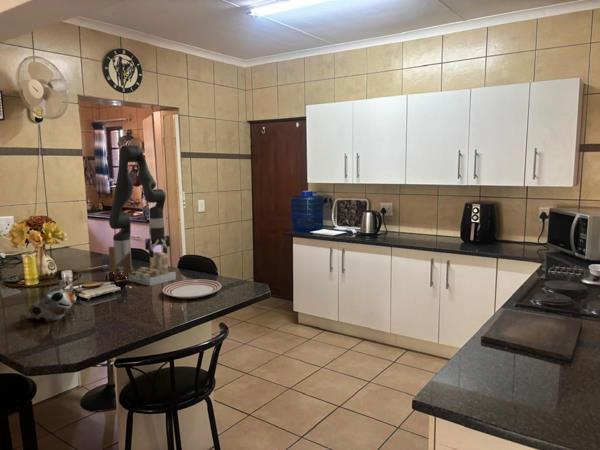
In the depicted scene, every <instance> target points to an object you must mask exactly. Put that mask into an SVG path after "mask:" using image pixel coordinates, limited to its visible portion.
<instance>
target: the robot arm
mask: <svg viewBox="0 0 600 450" xmlns="http://www.w3.org/2000/svg"><path fill="white" fill-rule="evenodd" d="M129 163H136V164H137V165H138V172H137V178H138V181H139V183H140V185H141V186H142V190H143V193H144V199H145V201H146V202H147V203H149V204H150V203H151V204H153V203H154V204H155V203H156V204H155V205H154V206H152V207H150V208H149V210H148V211H149V215H148V216H149V220H148V221H149V222H148V223H149V236H150V238H145V240H144V242H145V246H144V247H145V250H146V251H148V253H149V254H148V255H149V258H150V257H151V258H153V257H154V253H153V251H154V249H155V247H156V246H162V253H165V254H167V255H168V247H170V246H171V240H170V235H165V234H166V233H165V220H164V207H165V202H166V197H167V195H166V192H165V191H164V189H161V188H159V189H157V188H156V186H157V182H156V181H155V179H154V177H153V176H152V173H151V171H150V170H149V167H148V164H147V160H146V158H145V155H144V152H143V150H142V149H141V147H140V146H138V145H132V144H131V145H128V144H127V145H126V144H125V145H121V147H120V149H119V157H118V169H117V171H118V172H117V176H116V177H117V178H116V182H115V189H114V196H113V200H112V201H113V202H112V206H111V210H110V212H109V213H110V214H109V218H108V223H109V224H108V225H109V227H110V228H111V229H113V230H119V229H120V230H119V231H118V233H116V234H114V235H113V237H112V238H113V239H112V240H113V247H116V260H117V264H118V263H119V262H120V261H121V260H122V259H123V258H124V256H125V255H126V254H127V253H128V252H130V256H131V257H132V253H131V252H132V250H131V249H132V248H131V231H132V229H131V227H132V226H131V216H130V214H129V213H128V212H121V211H122V209H123V207H124V206H125V204H126V203H127V202H128V201H129V200H130V198H131V197H132V195H133V189H134V181H133V180H132V179H133V178H132V177H131V176H130V173H129V170H128V169H129V167H128V166H129ZM155 188H156V189H155ZM131 268H132V264H131ZM117 270H123V266H122V267H117Z"/></svg>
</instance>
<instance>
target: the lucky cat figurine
mask: <svg viewBox="0 0 600 450" xmlns="http://www.w3.org/2000/svg"><path fill="white" fill-rule="evenodd" d="M76 300H77V295H75V292H71V293H69V292H67V291H66V290H59V289H58V290H53V291H50V292H48V293H46V294H45V296H44V297H43V298H42V299H41V300H38V301H35V302H34V303H32V304H31V305H30V306H29V308H28V312H29V314H30V315H31V316H32V317H33V318H34V319H36V320H38V321H43V322H44V323H49V321H50V322H55V321H58V320H59V321H60V320H61V319H62V318H63V317H64V316H65V314H66V313H67V311H69V309H70V308H71V306H73V304H74V303H75V302H76ZM54 320H55V321H54Z"/></svg>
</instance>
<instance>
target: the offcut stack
mask: <svg viewBox="0 0 600 450" xmlns="http://www.w3.org/2000/svg"><path fill="white" fill-rule="evenodd" d="M136 271H137V272H136ZM136 271H135V272H136V273H135V276H138V277H142V278H147V279H148V278H150V277H154V276H158V275H160V271H159V270H157V269H152V268H150V267H146V266H140V267H139V268H137V269H136Z"/></svg>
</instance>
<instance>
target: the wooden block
mask: <svg viewBox="0 0 600 450" xmlns="http://www.w3.org/2000/svg"><path fill="white" fill-rule="evenodd" d="M108 259H109V260H108V261H109V273H110V272H114V273H122V274H124V275H125V276H126V277H127V280H129V276H128V273H132V267H131V265H132V255H131V256H130V252H128V253H127V254H126V255H125V256H124V258H123V259H122V260H121V261H120V262H119V263H118V264H117V260H116V247H114V246H109V247H108ZM122 266H123V269H122V271H118V269H117V267H122Z"/></svg>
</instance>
